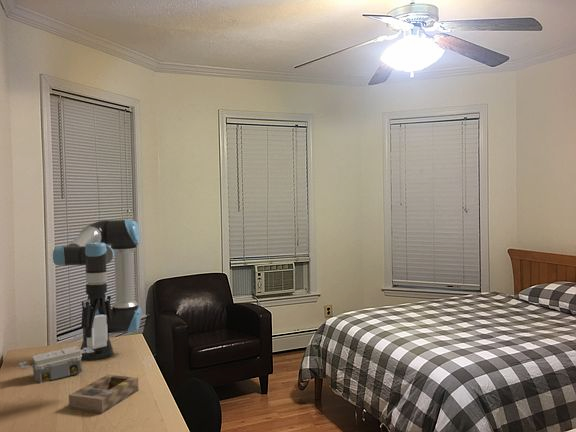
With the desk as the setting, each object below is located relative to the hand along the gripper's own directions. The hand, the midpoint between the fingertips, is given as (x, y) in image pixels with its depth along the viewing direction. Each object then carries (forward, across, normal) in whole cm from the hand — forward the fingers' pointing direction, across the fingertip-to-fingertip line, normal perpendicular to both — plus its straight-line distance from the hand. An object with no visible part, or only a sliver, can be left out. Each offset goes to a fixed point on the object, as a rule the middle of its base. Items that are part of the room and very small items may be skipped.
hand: (97, 342), depth 194 cm
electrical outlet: (+20, -12, -30) cm, 38 cm away
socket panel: (+20, +3, +6) cm, 21 cm away
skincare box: (+2, 0, 0) cm, 2 cm away
